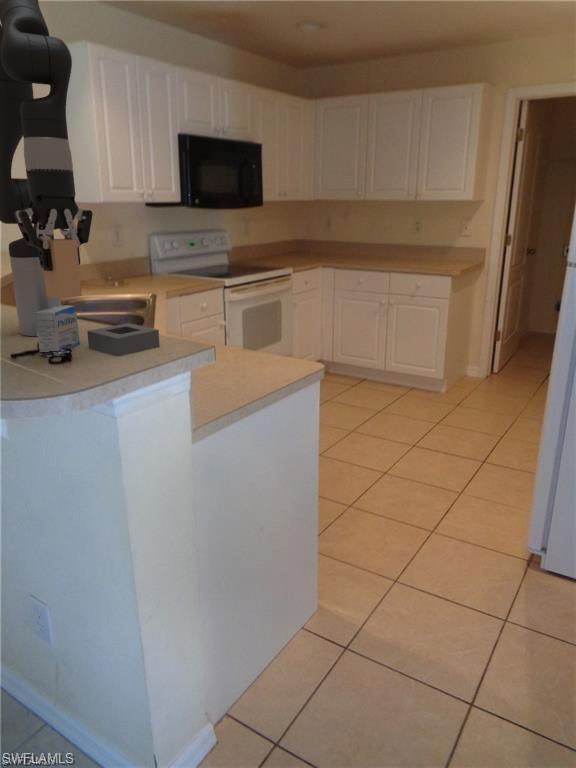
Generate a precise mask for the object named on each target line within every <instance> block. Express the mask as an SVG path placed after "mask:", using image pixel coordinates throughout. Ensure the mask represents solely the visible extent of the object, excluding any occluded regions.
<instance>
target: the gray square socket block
mask: <svg viewBox="0 0 576 768" xmlns="http://www.w3.org/2000/svg"><path fill="white" fill-rule="evenodd" d="M159 332H160V331H159V329H157V328H152V327H147V326H143V325H139V324H135V323H134V324H133V323H129V322H126V323H122V324H116V325H111V326H106V327H101V328H95V329H90V330H87V331H86V333H87V339H88V340H87V341H88V348H89V349H91V350H95V351H99V352H103V353H106V354H109V355H113V356H115V357H121V356H125V355H130V354H134V353H138V352H142V351H143V352H144V351H147V350H150V349H156V348H160V333H159Z"/></svg>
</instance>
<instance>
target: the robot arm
mask: <svg viewBox="0 0 576 768" xmlns="http://www.w3.org/2000/svg"><path fill="white" fill-rule="evenodd" d="M72 65H73V59H72V54H71V51H70V49H69V47H68V45H67V44H66V43H65V42H64V41H63V40H62V39H60V38H58V37H55V36H50V32H49V28H48V25H47V23H46V20H45V17H44V16H43V13H42V10H41V7H40V4H39V0H0V222H1V223H3V224H7V225H17V226H18V229H19V231H20V232H21V235H22V237H21V238H19V239H16V240H14V241H11V242H10V243H9V244H8V253H9V254H8V255H9V262H10V268H11V273H12V274H11V275H12V281H13V288H14V300H15V307H16V313H17V321H18V328H19V333H20V335H22V336H28V337H38V336H37V329H36V322H35V314H34V313H35V312H39V311H42V310H45V309H48V308H51V307H55V306H59V305H62V303H61V299H59V298H54V297H49V296H47V294H46V286H45V277H44V270H45V271H52V270H53V265H52V256H51V250H50V249H49V246H50V240H51V239H55V234H54V230H60V234H61V235H62V236H63V239H72V240H77V250H78V261H79V266H80V265H81V257H80V256H81V254H80V247H81V245H84V244H87V243H88V242H89V240H90V232H91V225H92V221H93V215H94V214H93V211H92V210H91V209H90V210H89V209H83V208H80V207H79V206H78V205H77V202H76V185H75V177H74V167H73V166H74V165H73V159H72V157H73V156H72V151H71V148H70V141H69V134H68V125H67V124H68V123H67V99H68V90H69V84H70V79H71V73H72ZM33 84H37V85H48V86H49V89H50V90H49V93H48V95H46V96H42V97H34V88H33V87H34V85H33ZM22 139H23V157H24V167H25V172H26V173H25V174H26V178H20V177H19V178H14V177H13V178H12V166H13V160H14V156H15V153H16V150H17V148H18V146H19V143H20V142H21V141H22ZM75 218H76V219H77V225H75V222H74V220H75Z"/></svg>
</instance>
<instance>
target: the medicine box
mask: <svg viewBox="0 0 576 768" xmlns="http://www.w3.org/2000/svg"><path fill="white" fill-rule="evenodd" d="M34 314H35V322H36V329H37V336H36V337H37V342H38V350H39V353H40V352H49V351H59V350H61V349H62V348H69V350H71V349H74V348H76V347H78V346H81V342H80V334H79V325H78V324H79V323H78V316H77V315H78V314H77V307H76V306H75V305H66V304H65V305H64V304H61V305H59V306H55V307H51V308H48V309H45V310H42V311H39V312H35V313H34Z"/></svg>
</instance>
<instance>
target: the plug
mask: <svg viewBox="0 0 576 768" xmlns="http://www.w3.org/2000/svg"><path fill="white" fill-rule="evenodd" d="M49 249H50V250H51V256H52V265H53V270H52V271H45V270H44V277H45V286H46V294H47V296H49V297H54V298H59V299H60V300H61V299H65V298H66V299H69V298H75V297H82V296H83V294H82V283H81V273H80V265H79V261H78V250H77V240H72V239H65V238H54V239H51V240H50V246H49Z"/></svg>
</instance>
